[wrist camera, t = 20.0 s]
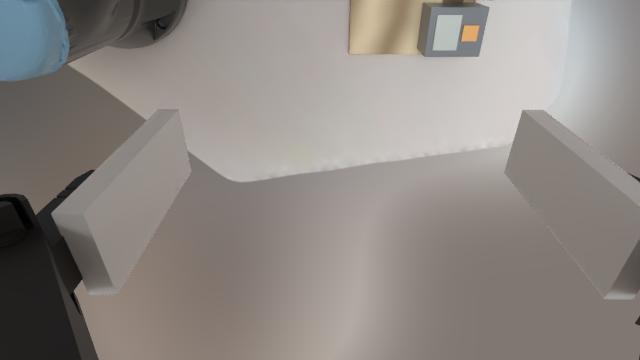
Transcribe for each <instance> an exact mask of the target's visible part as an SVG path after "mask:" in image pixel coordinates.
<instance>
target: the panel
mask: <svg viewBox="0 0 640 360" xmlns="http://www.w3.org/2000/svg"><path fill="white" fill-rule="evenodd" d="M423 3H475V0H351V5H350V33H349V54H422V53H421V52H420V51H419V50H418V49H417V44H418V36H419V29H420V21H421V14H422V6H423Z"/></svg>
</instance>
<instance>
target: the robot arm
mask: <svg viewBox="0 0 640 360" xmlns="http://www.w3.org/2000/svg"><path fill="white" fill-rule="evenodd" d="M186 1H187V0H0V81H19V80H25V79H29V78H33V77H36V76H41V75H47V74H49V73H52V72H55V71H56V70H59V68H60V67H61V66H63V65H66V64H68V63H70V62H72V61H74V60H76V59H79V58H81V57H83V56H85V55H87V54H89V53H91V52H94V51H96V50H98V49H100V48H102V47H104V46H112V47H117V48H127V49H130V48H140V47H144V46H148V45H150V44H153V43H155V42H157V41H158V40H160V39H162V38H164V37H165V36H167V35H168V34H169V33H170V32H171V31H172V30H173V29H174V28H175V27H176V25H177V24H178V23H179V21H180V19H181V17H182V15H183V12H184V9H185V6H186ZM190 173H191V167H190V162H189V157H188V152H187V148H186V143H185V138H184V134H183V129H182V124H181V120H180V115H179V110H178V109H158V110H157V111H156V112H155V113H154V114H153V115H152V116H151V117H150V118H149V119H148V120H147V121H146V122H145V123H144V124H143V125H142V126H141V127H140V128H139V129H138V130H137V131H136V132H135V133H134V134H133V135H132V136H130V137H129V138H128V139H127V140H126V141H125V142H124V143H123V144H122V145H121V146H120V147H119V148H118V149H117V150H116V151H115V152H114V153H113V154H112V155H111V156H110V157H109V158H108V159H107V160H106V161H105V162H104V163H103V164H102V165H101V166H99V167H98V169H96V170H90V171H88V172H86V173H85V174H83V175H81V176H79V177H77V178H76V179H74V181H72V182H71V183H70V184H69V185H68V186H67V187H66V188H65V190H63V191H62V192H60V193H59V194H58V195H57V198H54V199H53V200H52V201H51V202H50V203H48V204H47V205H46V206H45V207H44V208H43V209H42V210H41V211H40V212H39V213H38V214H37V215H35V213H34V211H33V209H32V207H31V206H30V203H29V201H28V200H27V198H26V197H25V196H24V195H20V194H3V195H0V360H98V357H97V354H96V351H95V348H94V345H93V342H92V340H91V336H90V334H89V331H88V328H87V325H86V322H85V319H84V316H83V313H82V310H81V308H80V305H79V302H78V299H77V297H76V295H75V293H74V289H75V288H76V287H77V285H78V284H79V283H80V281H81V280H83V282H84V284H85V286H86V289H87V291H88V293H89V295H118V293H119V291H120V290H121V288H122V286H123V285H124V283H125V281H126V280H127V278H128V276H129V275H130V273H131V271H132V270H133V268H134V266H135V265H136V263H137V261H138V260H139V258H140V256H141V255H142V253H143V251H144V250H145V248H146V246H147V245H148V243H149V241H150V240H151V238H152V236H153V235H154V233H155V231H156V230H157V228H158V226H159V225H160V223H161V221H162V220H163V218H164V216H165V215H166V213H167V211H168V210H169V208H170V206H171V205H172V203H173V201H174V200H175V198H176V196H177V195H178V193H179V191H180V189H181V188H182V186H183V185H184V183H185V181H186V180H187V178H188V176H189V175H190ZM504 173H505V174H506V176H507V177H508V178H509V179H510V180H511V182H512V183H513V184H514V186H515V187H516V188H517V189H518V191H519V192H520V193H521V194H522V196H523V197H524V198H525V199H526V201H527V202H528V203H529V204H530V206H531V207H532V208H533V210H534V211H535V212H536V213H537V215H538V216H539V217H540V218H541V220H542V221H543V222H544V223H545V225H546V226H547V227H548V228H549V230H550V231H551V232H552V233H553V235H554V236H555V237H556V239H557V240H558V241H559V242H560V243H561V245H562V246H563V247H564V249H565V250H566V251H567V252H568V254H569V255H570V256H571V257H572V259H573V260H574V261H575V263H576V264H577V265H578V266H579V268H580V269H581V270H582V271H583V273H584V274H585V275H586V276H587V278H588V279H589V280H590V281H591V282H592V284H593V285H594V286H595V288H596V289H597V290H598V291H599V293H600V294H601V295H602V297H603V298H604V299H634V297H635V296H636V294H637V293H638V291H639V290H640V178H638V177H635V176H633V175H631V174H629V173H627V172H625V171H624V170H623V169H621V168H620V167H619V166H617V165H616V164H614V163H613V162H612V161H610V160H609V159H608V158H607V157H605V156H604V155H603V154H601V153H600V152H598V151H597V150H596V149H595V148H593V147H592V146H590V145H589V144H588V143H586V142H585V141H584V140H582V139H581V138H580V137H578V136H577V135H576V134H574V133H573V132H572V131H570V130H569V129H567V128H566V127H565V126H563V125H562V124H561V123H560V122H558V121H557V120H556V119H554V118H553V117H552V116H550V115H549V114H548V113H546V112H545V111H544V110H523V111H522V114H521V118H520V121H519V124H518V128H517V131H516V134H515V138H514V141H513V145H512V148H511V151H510V155H509V158H508V162H507V165H506V168H505V172H504ZM635 324H638V325H640V317H639V318H638V320H637V321H636V322H635ZM639 360H640V357H639Z"/></svg>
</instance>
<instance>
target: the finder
mask: <svg viewBox="0 0 640 360" xmlns="http://www.w3.org/2000/svg"><path fill="white" fill-rule="evenodd" d="M488 12H489V7H487V6H484V5H481V4H478V3H423V6H422V14H421V21H420V29H419V36H418V44H417V49H418V50H419V51H420V52H421V53H422V54H423V55H424V56H425V57H479V53H480V48H481V44H482V39H483V35H484V30H485V25H486V21H487V16H488Z"/></svg>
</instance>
